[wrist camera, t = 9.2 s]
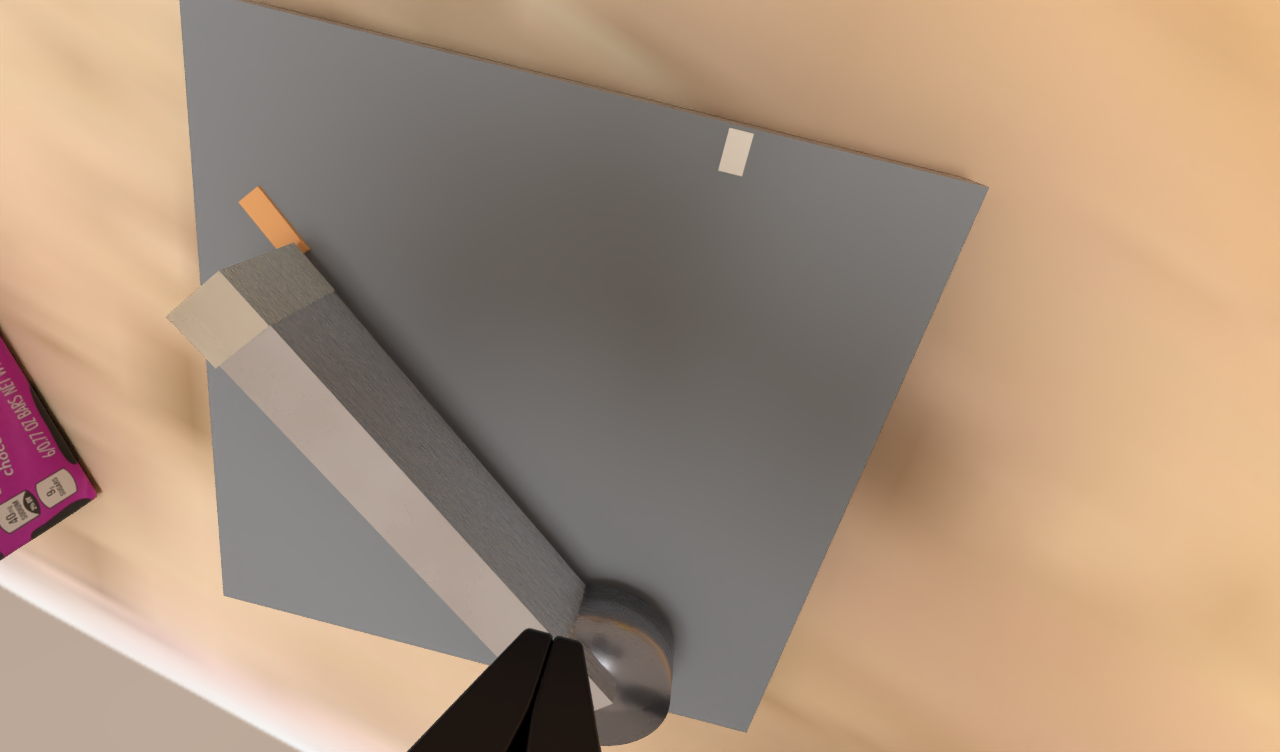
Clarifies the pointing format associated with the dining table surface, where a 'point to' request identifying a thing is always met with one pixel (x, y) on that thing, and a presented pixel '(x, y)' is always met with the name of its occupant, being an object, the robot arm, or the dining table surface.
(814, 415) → the dial plate
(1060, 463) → the dining table surface
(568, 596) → the dial lever
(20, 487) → the candy bar box
